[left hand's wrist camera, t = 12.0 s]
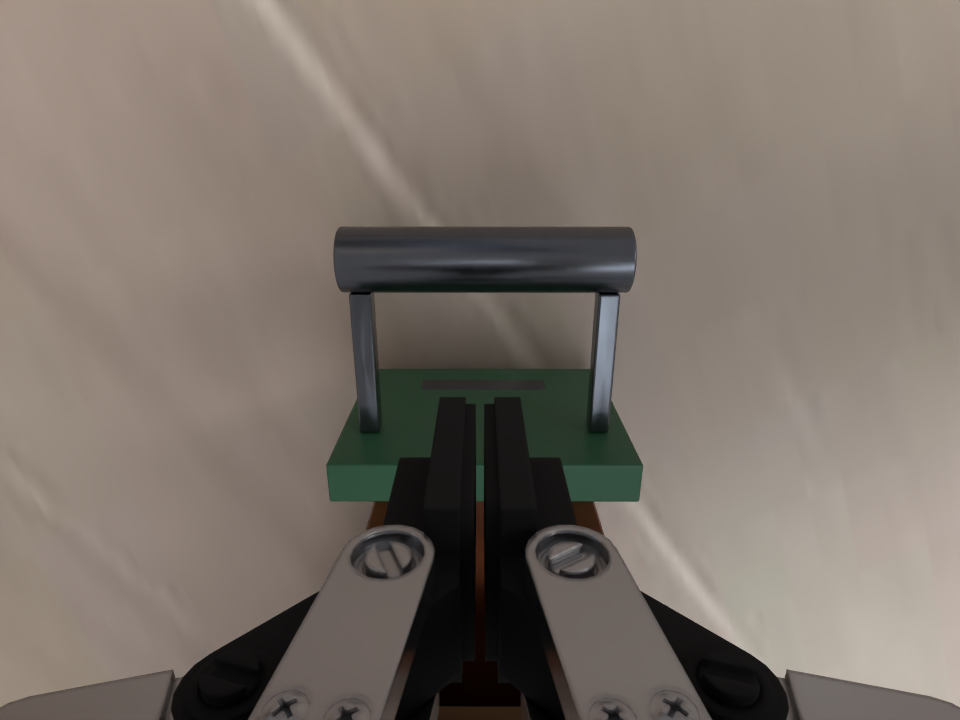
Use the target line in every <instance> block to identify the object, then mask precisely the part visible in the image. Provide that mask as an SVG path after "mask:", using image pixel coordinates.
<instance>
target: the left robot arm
mask: <svg viewBox="0 0 960 720" xmlns="http://www.w3.org/2000/svg"><path fill="white" fill-rule="evenodd" d="M475 595H476V404H466V397H440V398H439V405H438V411H437V418H436V425H435V431H434V438H433V444H432V451H431V457H401V458H400V459H399V462H398V466H397V470H396V474H395V478H394V482H393V486H392V490H391V494H390V498H389V502H388V506H387V511H386V515H385V519H384V523H383V526H379V527H373V528H371V529H368V530H366V531H364V532H361V533H360V534H358V535H357V536H355V537H354V538H352V539H351V540H350V541H349V542H348V543H347V545H346V546H345V547H344V548H343V550H342V552H341V554H340V555H339V557H338V559H337V561H336V563H335V564H334V566H333V568H332V570H331V572H330V573H329V575H328V577H327V579H326V581H325V582H324V584H323V586H322V588H321V590H320V591H319V592H317V593H315V594H313V595H312V596H310V597H308V598H307V599H305V600H303V601H301V602H300V603H298V604H296V605H294V606H293V607H291V608H289V609H287V610H286V611H284V612H282V613H280V614H279V615H277V616H275V617H273V618H272V619H270V620H268V621H267V622H265V623H263V624H261V625H260V626H258V627H256V628H254V629H253V630H251V631H249V632H247V633H246V634H244V635H242V636H240V637H239V638H237V639H235V640H234V641H232V642H230V643H228V644H227V645H225V646H223V647H221V648H220V649H218V650H216V651H214V652H213V653H211V654H209V655H208V656H206V657H205V658H204V659H202V660H201V661H199V662H198V663H197V664H195V665H194V666H193V667H192V668H191V669H190V670H189V671H188V673H187V674H186V675H185V676H184V677H181V678H175V675H174V671H173V670H168V671H163V672H157V673H152V674H147V675H141V676H136V677H131V678H125V679H120V680H115V681H109V682H104V683H98V684H93V685H88V686H82V687H77V688H72V689H66V690H61V691H56V692H50V693H45V694H40V695H34V696H29V697H26V698H23V699H20V700H17V701H13V702H10V703H8V704H6V705H4V706H2V707H0V720H437V717H438V713H439V702H440V696H439V691H441V690H442V689H443V688H444V687H446V686H447V685H448V684H449V683H462V664H463V661H475ZM484 595H485V661H497V664H498V683H511V684H512V685H513V686H514V687H516V688H517V689H518V690H519V691H521V696H520V702H521V713H522V717H523V720H960V707H958V706H956V705H954V704H952V703H950V702H947V701H943V700H940V699H937V698H934V697H931V696H926V695H920V694H915V693H910V692H904V691H899V690H894V689H888V688H883V687H878V686H872V685H867V684H862V683H856V682H851V681H845V680H840V679H835V678H829V677H824V676H819V675H813V674H808V673H803V672H797V671H792V670H787V671H786V675H785V678H779V677H776V676H775V675H774V674H773V673H772V671H771V670H770V669H769V668H768V667H767V666H766V665H765V664H763V663H762V662H761V661H759V660H758V659H756V658H755V657H754V656H752V655H751V654H749V653H747V652H746V651H744V650H742V649H740V648H739V647H737V646H735V645H733V644H732V643H730V642H728V641H726V640H725V639H723V638H721V637H720V636H718V635H716V634H714V633H713V632H711V631H709V630H707V629H706V628H704V627H702V626H700V625H699V624H697V623H695V622H693V621H692V620H690V619H688V618H687V617H685V616H683V615H681V614H680V613H678V612H676V611H674V610H673V609H671V608H669V607H667V606H666V605H664V604H662V603H660V602H659V601H657V600H655V599H653V598H652V597H650V596H648V595H647V594H645V593H643V592H641V591H640V590H639V588H638V586H637V584H636V582H635V581H634V579H633V577H632V575H631V573H630V572H629V570H628V568H627V566H626V564H625V563H624V561H623V559H622V557H621V555H620V554H619V552H618V550H617V548H616V547H615V546H614V545H613V544H612V542H611V541H610V540H609V539H608V538H606V537H605V536H603V535H602V534H600V533H599V532H596V531H594V530H592V529H589V528H587V527H581V526H577V523H576V519H575V515H574V511H573V506H572V502H571V498H570V494H569V490H568V486H567V482H566V478H565V474H564V470H563V466H562V462H561V459H560V458H559V457H529V451H528V444H527V438H526V431H525V425H524V418H523V411H522V405H521V398H520V397H494V404H484Z"/></svg>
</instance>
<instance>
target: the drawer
mask: <svg viewBox="0 0 960 720" xmlns="http://www.w3.org/2000/svg"><path fill="white" fill-rule="evenodd" d="M636 259H637V250H636V240H635V235H634V232H633V230H632V228H630V227H339V228H338V229H337V232H336V235H335V240H334V271H335V277H336V281H337V285H338V287H339V289H340V291H341V292H351V293H350V295H349V300H350V313H351V325H352V338H353V350H354V363H355V375H356V388H357V400H356V402H355V404H354V407H353V409H352V411H351V413H350V415H349V417H348V420H347V422H346V424H345V426H344V428H343V430H342V433H341V435H340V437H339V439H338V441H337V443H336V446H335V448H334V450H333V452H332V454H331V456H330V459H329V461H328V463H327V465H326V467H327V476H328V486H329V496H330V501H374V504H373V507H372V511H371V514H370V518H369V521H368V525H367V528H366V530H368V529H371V528H373V527H379V526H383V523H384V519H385V515H386V511H387V506H388V502H389V498H390V494H391V490H392V486H393V482H394V478H395V474H396V470H397V466H398V462H399V459H400V458H401V457H431V451H432V444H433V438H434V431H435V425H436V418H437V411H438V405H439V398H440V397H466V404H476V595H475V661H463V664H462V683H449V684H448V685H447V686H446V687H444V688H443V689H442V690H441V691H439V696H440V702H439V706H521V702H520V696H521V691H519V690H518V689H517V688H516V687H514V686H513V685H512V684H511V683H498V664H497V661H485V595H484V404H494V397H520V398H521V405H522V411H523V418H524V425H525V431H526V438H527V444H528V451H529V457H559V458H560V459H561V462H562V466H563V470H564V474H565V478H566V482H567V486H568V490H569V494H570V498H571V502H572V506H573V511H574V515H575V519H576V523H577V526H581V527H587V528H589V529H592V530H594V531H596V532H599V533H600V534H602V535H603V536H604V533H603V530H602V527H601V523H600V520H599V517H598V514H597V510H596V507H595V504H594V501H639V497H640V488H641V479H642V470H643V464H642V462H641V460H640V458H639V456H638V454H637V452H636V450H635V448H634V446H633V444H632V442H631V440H630V438H629V436H628V434H627V432H626V430H625V428H624V426H623V424H622V421H621V419H620V417H619V415H618V413H617V411H616V409H615V407H614V405H613V403H612V401H611V396H612V384H613V373H614V361H615V350H616V338H617V327H618V315H619V304H620V294H619V293H626V292H629V291H630V289H631V287H632V284H633V281H634V277H635V271H636ZM374 293H595V307H594V321H593V335H592V349H591V363H590V369H379V364H378V349H377V333H376V318H375V302H374Z"/></svg>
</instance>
